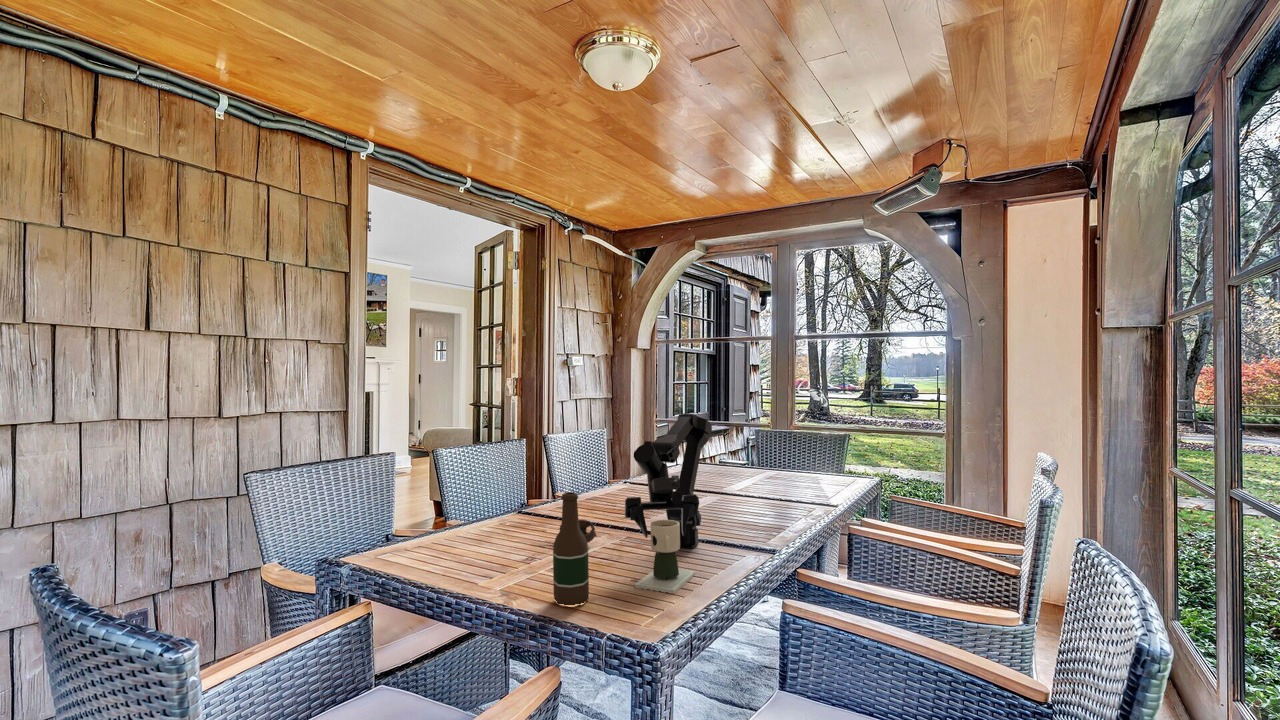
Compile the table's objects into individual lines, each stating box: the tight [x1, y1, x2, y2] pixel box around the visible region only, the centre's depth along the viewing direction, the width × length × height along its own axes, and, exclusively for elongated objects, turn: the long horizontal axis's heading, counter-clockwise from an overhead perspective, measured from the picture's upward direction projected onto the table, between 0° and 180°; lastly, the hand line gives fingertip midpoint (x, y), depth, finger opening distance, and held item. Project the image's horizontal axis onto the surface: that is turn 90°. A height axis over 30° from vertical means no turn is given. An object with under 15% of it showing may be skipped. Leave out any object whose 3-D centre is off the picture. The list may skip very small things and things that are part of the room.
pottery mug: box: [558, 518, 598, 544], centre depth 177 cm, size 12×9×8 cm
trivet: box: [634, 568, 696, 594], centre depth 144 cm, size 10×14×1 cm
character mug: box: [650, 519, 681, 579], centre depth 144 cm, size 11×7×13 cm, turn 2°
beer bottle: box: [552, 491, 590, 605], centre depth 132 cm, size 8×8×24 cm
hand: (665, 536), depth 146 cm, fingers open, 9 cm apart
